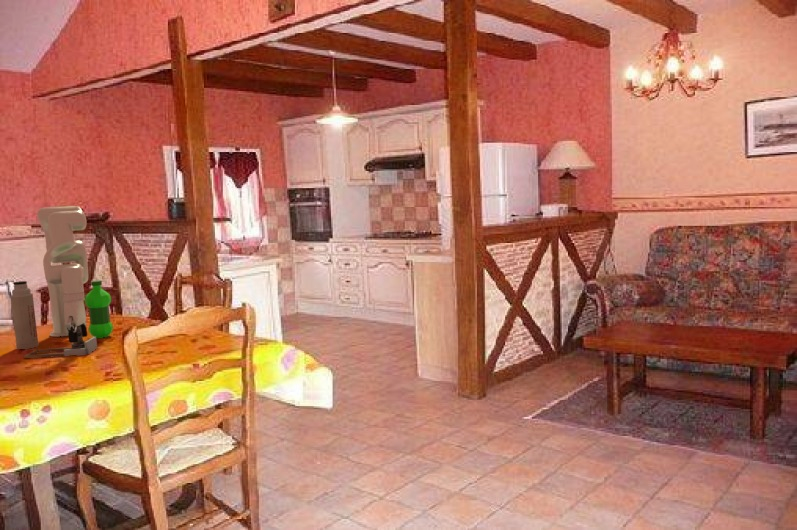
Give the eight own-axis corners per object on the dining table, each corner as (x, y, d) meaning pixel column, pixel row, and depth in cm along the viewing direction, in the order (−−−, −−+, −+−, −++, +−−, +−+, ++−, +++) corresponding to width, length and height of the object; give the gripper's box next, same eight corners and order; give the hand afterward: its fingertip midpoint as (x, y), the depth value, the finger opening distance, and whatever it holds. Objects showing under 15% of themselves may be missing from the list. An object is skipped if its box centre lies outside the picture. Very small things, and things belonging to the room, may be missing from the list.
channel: (35, 352, 265) (35, 349, 265) (74, 350, 266) (74, 347, 266) (24, 358, 255) (23, 355, 255) (64, 356, 256) (64, 353, 256)
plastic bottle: (98, 334, 295) (93, 279, 292) (119, 334, 293) (114, 279, 290) (83, 339, 285) (77, 283, 282) (105, 339, 283) (99, 282, 280)
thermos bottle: (42, 345, 278) (35, 280, 275) (28, 349, 270) (21, 282, 267) (26, 345, 280) (19, 280, 276) (12, 349, 272) (4, 283, 269)
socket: (74, 350, 266) (73, 338, 266) (97, 348, 267) (96, 336, 266) (64, 356, 256) (63, 343, 256) (88, 354, 257) (86, 342, 257)
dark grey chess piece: (75, 351, 265) (72, 321, 263) (90, 350, 265) (87, 321, 264) (69, 354, 259) (66, 324, 257) (84, 353, 259) (81, 323, 258)
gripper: (72, 294, 267) (77, 335, 269) (54, 301, 250) (59, 345, 252) (91, 293, 268) (96, 334, 270) (75, 300, 251) (79, 343, 253)
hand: (78, 339), depth 261 cm, fingers open, 9 cm apart
